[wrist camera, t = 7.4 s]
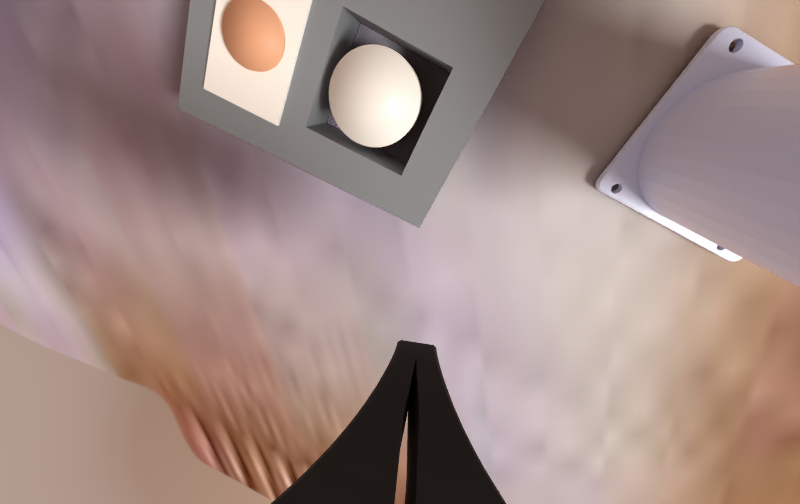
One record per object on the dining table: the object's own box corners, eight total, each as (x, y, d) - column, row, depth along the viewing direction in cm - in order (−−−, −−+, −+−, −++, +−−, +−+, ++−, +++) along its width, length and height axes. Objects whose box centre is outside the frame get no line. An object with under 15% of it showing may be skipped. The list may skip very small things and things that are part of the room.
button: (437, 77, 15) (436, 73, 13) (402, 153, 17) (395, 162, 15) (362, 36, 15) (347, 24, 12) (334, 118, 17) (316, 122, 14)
